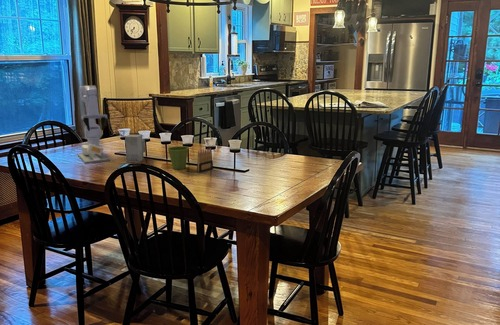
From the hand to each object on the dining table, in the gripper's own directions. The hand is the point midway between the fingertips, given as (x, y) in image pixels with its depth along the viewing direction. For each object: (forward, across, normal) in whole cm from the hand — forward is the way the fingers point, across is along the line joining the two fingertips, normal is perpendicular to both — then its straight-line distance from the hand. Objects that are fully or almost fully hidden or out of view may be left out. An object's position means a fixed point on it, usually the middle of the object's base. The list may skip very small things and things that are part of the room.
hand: (95, 130), depth 270 cm
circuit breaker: (+20, +21, -5) cm, 29 cm away
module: (+12, -1, +9) cm, 15 cm away
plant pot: (+31, +35, -37) cm, 60 cm away
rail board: (+15, -1, +11) cm, 18 cm away
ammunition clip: (+35, +45, -50) cm, 76 cm away
